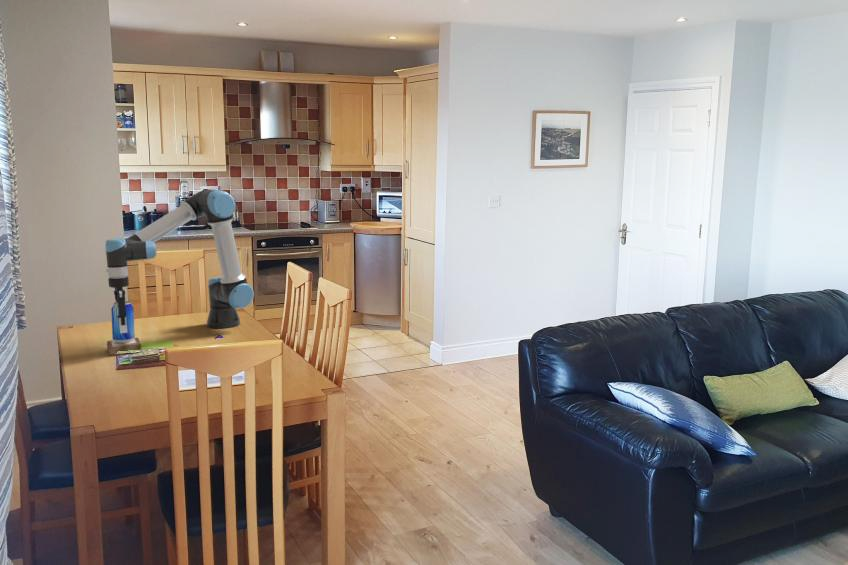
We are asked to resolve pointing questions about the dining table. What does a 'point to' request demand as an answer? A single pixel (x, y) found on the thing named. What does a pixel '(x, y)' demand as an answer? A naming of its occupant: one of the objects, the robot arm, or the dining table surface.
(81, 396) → the dining table surface
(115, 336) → the beer can
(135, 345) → the base slab
